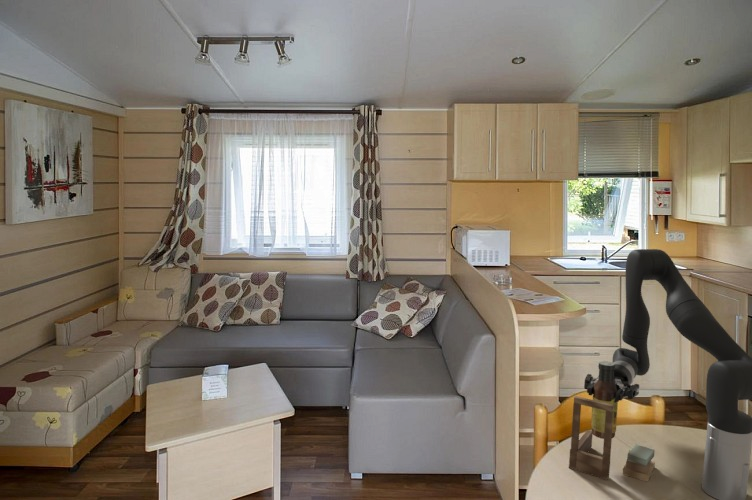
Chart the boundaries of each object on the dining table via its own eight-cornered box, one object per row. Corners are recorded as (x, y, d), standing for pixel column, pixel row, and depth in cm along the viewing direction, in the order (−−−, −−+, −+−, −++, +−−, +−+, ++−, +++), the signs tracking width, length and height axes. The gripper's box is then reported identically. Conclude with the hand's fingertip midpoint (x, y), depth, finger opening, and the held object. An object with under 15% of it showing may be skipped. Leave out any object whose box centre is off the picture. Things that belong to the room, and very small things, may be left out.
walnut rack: (621, 456, 152) (626, 388, 150) (607, 480, 140) (612, 406, 137) (585, 446, 158) (589, 380, 155) (568, 467, 146) (572, 397, 143)
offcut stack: (654, 468, 146) (655, 448, 146) (647, 482, 139) (649, 462, 139) (629, 460, 150) (630, 442, 149) (621, 474, 143) (623, 455, 142)
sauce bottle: (618, 441, 144) (623, 368, 142) (592, 439, 146) (597, 366, 143) (612, 430, 151) (617, 360, 148) (588, 428, 152) (592, 358, 149)
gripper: (593, 359, 162) (576, 375, 148) (646, 369, 153) (633, 387, 140) (591, 383, 163) (574, 401, 149) (644, 395, 154) (631, 415, 141)
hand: (603, 394), depth 145 cm, fingers closed on sauce bottle, 6 cm apart
